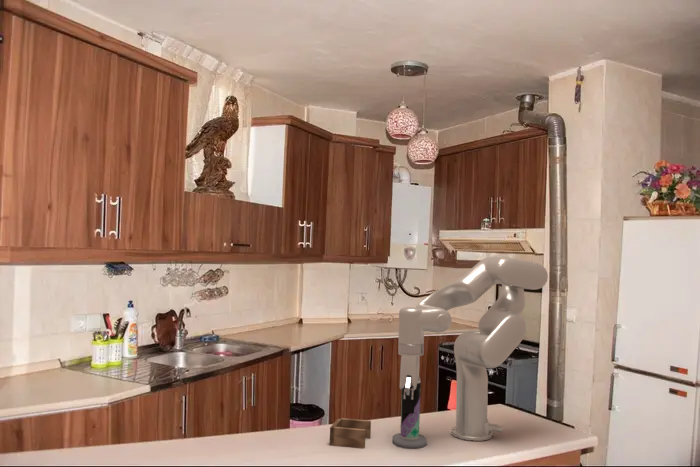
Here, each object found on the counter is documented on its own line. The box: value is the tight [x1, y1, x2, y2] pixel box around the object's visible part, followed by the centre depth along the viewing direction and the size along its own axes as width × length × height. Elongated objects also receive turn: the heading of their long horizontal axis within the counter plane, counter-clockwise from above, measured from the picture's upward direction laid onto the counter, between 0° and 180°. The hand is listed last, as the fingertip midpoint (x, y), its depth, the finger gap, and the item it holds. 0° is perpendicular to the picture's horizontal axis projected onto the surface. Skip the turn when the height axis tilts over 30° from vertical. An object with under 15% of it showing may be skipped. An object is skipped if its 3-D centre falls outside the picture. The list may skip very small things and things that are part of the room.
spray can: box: [400, 376, 422, 441], centre depth 166 cm, size 6×6×20 cm
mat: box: [391, 432, 427, 450], centre depth 166 cm, size 10×10×2 cm
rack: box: [329, 417, 372, 449], centre depth 166 cm, size 10×10×5 cm
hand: (409, 409), depth 166 cm, fingers open, 7 cm apart
